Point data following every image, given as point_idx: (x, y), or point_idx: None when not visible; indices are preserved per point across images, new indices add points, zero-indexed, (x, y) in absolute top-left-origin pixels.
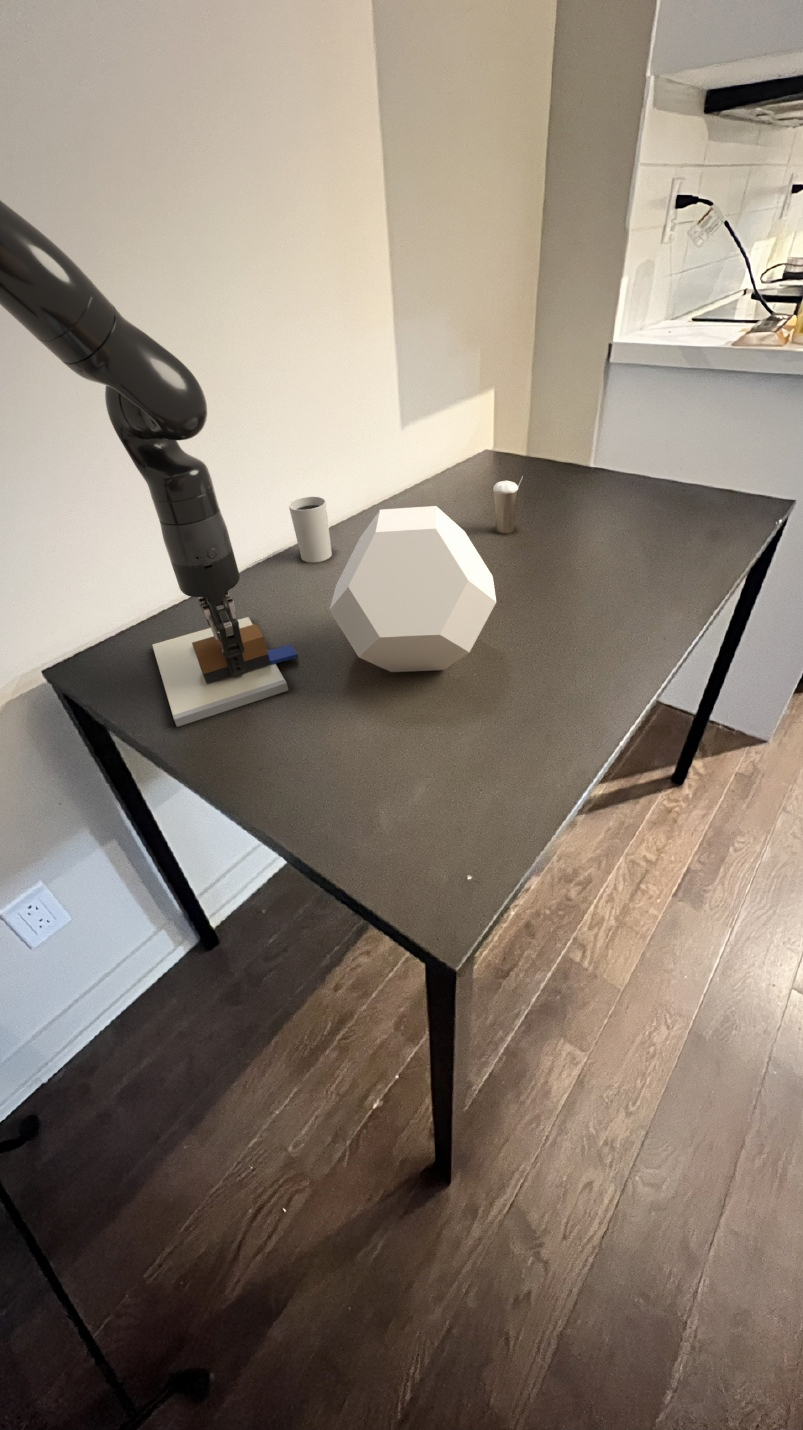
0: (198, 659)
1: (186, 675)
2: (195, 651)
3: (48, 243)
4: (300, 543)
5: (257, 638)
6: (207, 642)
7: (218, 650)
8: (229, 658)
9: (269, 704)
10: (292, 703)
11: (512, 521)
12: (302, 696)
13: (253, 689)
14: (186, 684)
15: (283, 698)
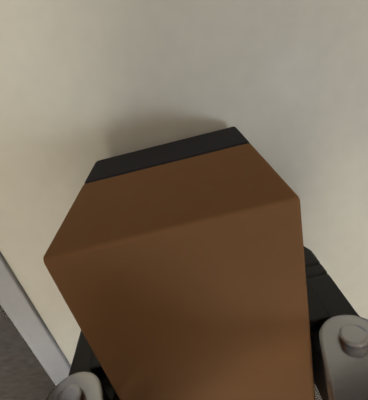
0: (55, 239)
1: (229, 39)
2: (126, 239)
3: None
4: None
5: None
6: (235, 310)
7: (106, 368)
8: (77, 368)
9: (4, 326)
10: (4, 373)
11: None
12: (35, 390)
13: (36, 319)
14: (140, 44)
15: (31, 355)
